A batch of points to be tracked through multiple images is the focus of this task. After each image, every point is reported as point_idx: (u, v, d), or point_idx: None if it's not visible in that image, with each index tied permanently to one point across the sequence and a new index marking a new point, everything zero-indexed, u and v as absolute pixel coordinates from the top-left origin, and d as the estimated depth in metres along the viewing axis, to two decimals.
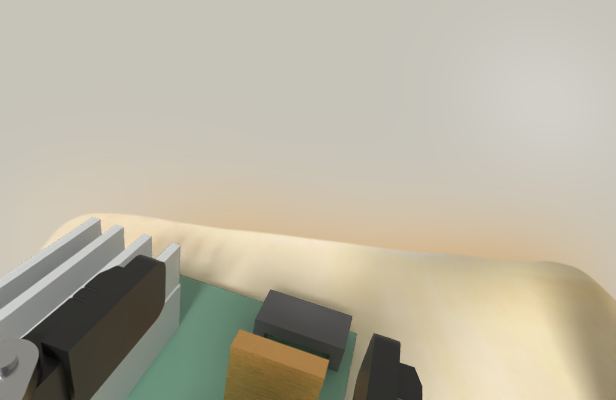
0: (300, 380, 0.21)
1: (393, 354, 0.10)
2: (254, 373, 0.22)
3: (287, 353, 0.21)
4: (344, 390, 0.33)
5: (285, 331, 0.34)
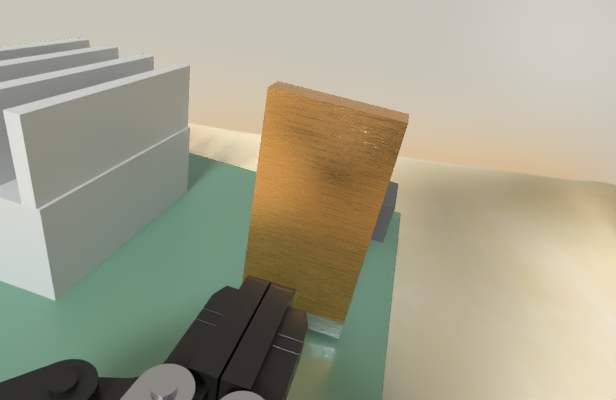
0: (370, 136, 0.14)
1: (284, 298, 0.11)
2: (300, 136, 0.15)
3: (349, 102, 0.15)
4: (394, 259, 0.26)
5: None
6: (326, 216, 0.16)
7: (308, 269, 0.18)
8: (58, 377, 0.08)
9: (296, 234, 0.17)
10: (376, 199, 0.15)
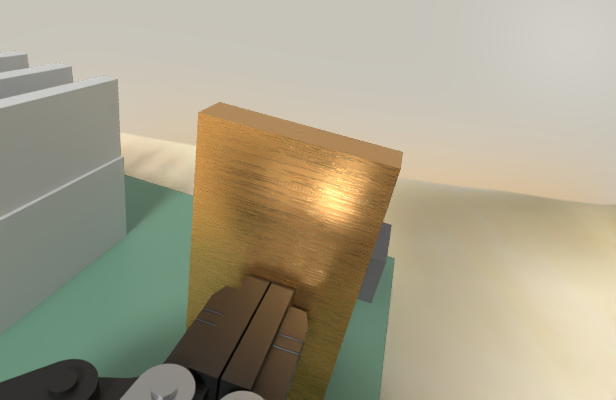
0: (345, 185, 0.10)
1: (284, 298, 0.11)
2: (248, 181, 0.11)
3: (316, 135, 0.10)
4: (384, 328, 0.20)
5: None
6: None
7: None
8: (58, 377, 0.08)
9: None
10: (356, 270, 0.11)
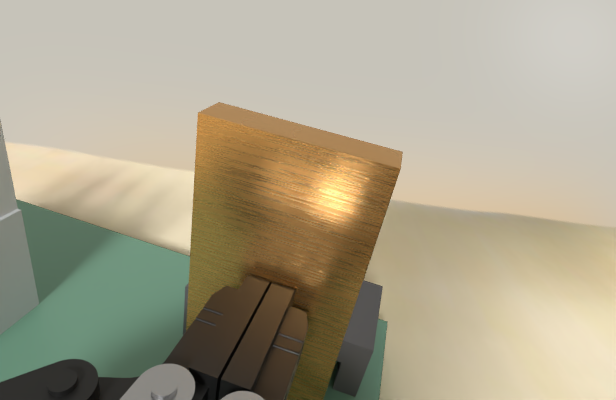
0: (345, 185, 0.10)
1: (284, 298, 0.11)
2: (248, 182, 0.11)
3: (316, 135, 0.10)
4: None
5: None
6: None
7: None
8: (58, 377, 0.08)
9: None
10: (356, 270, 0.11)
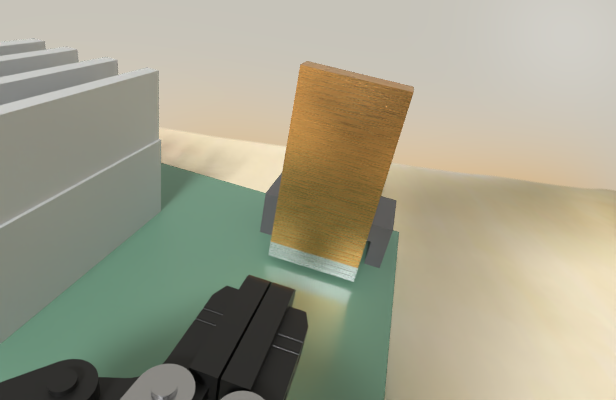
0: (382, 103, 0.18)
1: (284, 298, 0.11)
2: (326, 105, 0.19)
3: (365, 77, 0.18)
4: (392, 287, 0.23)
5: None
6: (345, 173, 0.20)
7: (329, 220, 0.21)
8: (58, 377, 0.08)
9: (320, 189, 0.21)
10: (387, 157, 0.19)
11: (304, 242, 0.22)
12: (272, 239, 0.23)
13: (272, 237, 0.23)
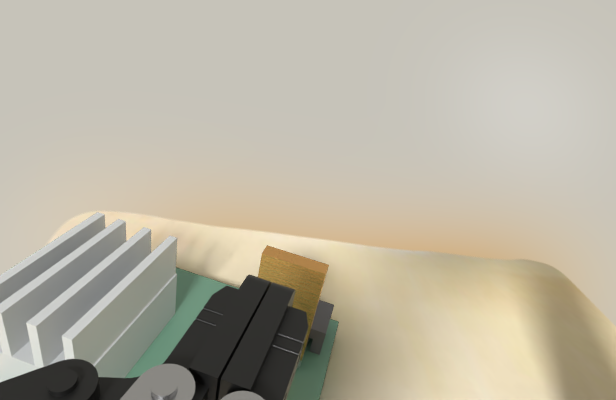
0: (309, 277, 0.31)
1: (284, 298, 0.11)
2: (277, 274, 0.32)
3: (300, 259, 0.31)
4: (325, 370, 0.36)
5: None
6: None
7: None
8: (58, 377, 0.08)
9: None
10: (314, 303, 0.32)
11: None
12: None
13: None
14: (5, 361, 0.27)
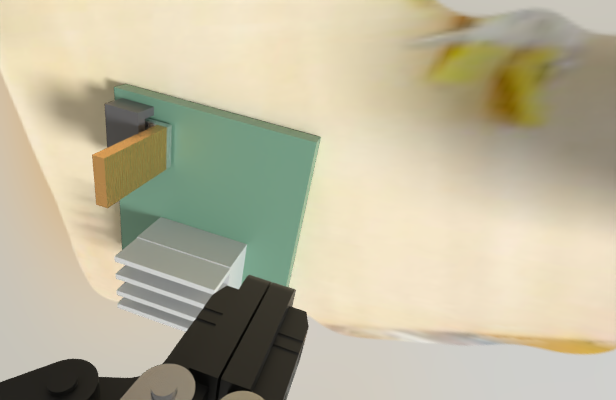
0: (110, 166, 0.36)
1: (284, 298, 0.11)
2: (117, 187, 0.38)
3: (98, 178, 0.36)
4: (166, 102, 0.44)
5: None
6: (136, 160, 0.40)
7: (153, 153, 0.43)
8: (58, 377, 0.08)
9: (144, 165, 0.42)
10: (127, 149, 0.38)
11: (163, 156, 0.45)
12: (165, 169, 0.46)
13: (164, 169, 0.46)
14: None
